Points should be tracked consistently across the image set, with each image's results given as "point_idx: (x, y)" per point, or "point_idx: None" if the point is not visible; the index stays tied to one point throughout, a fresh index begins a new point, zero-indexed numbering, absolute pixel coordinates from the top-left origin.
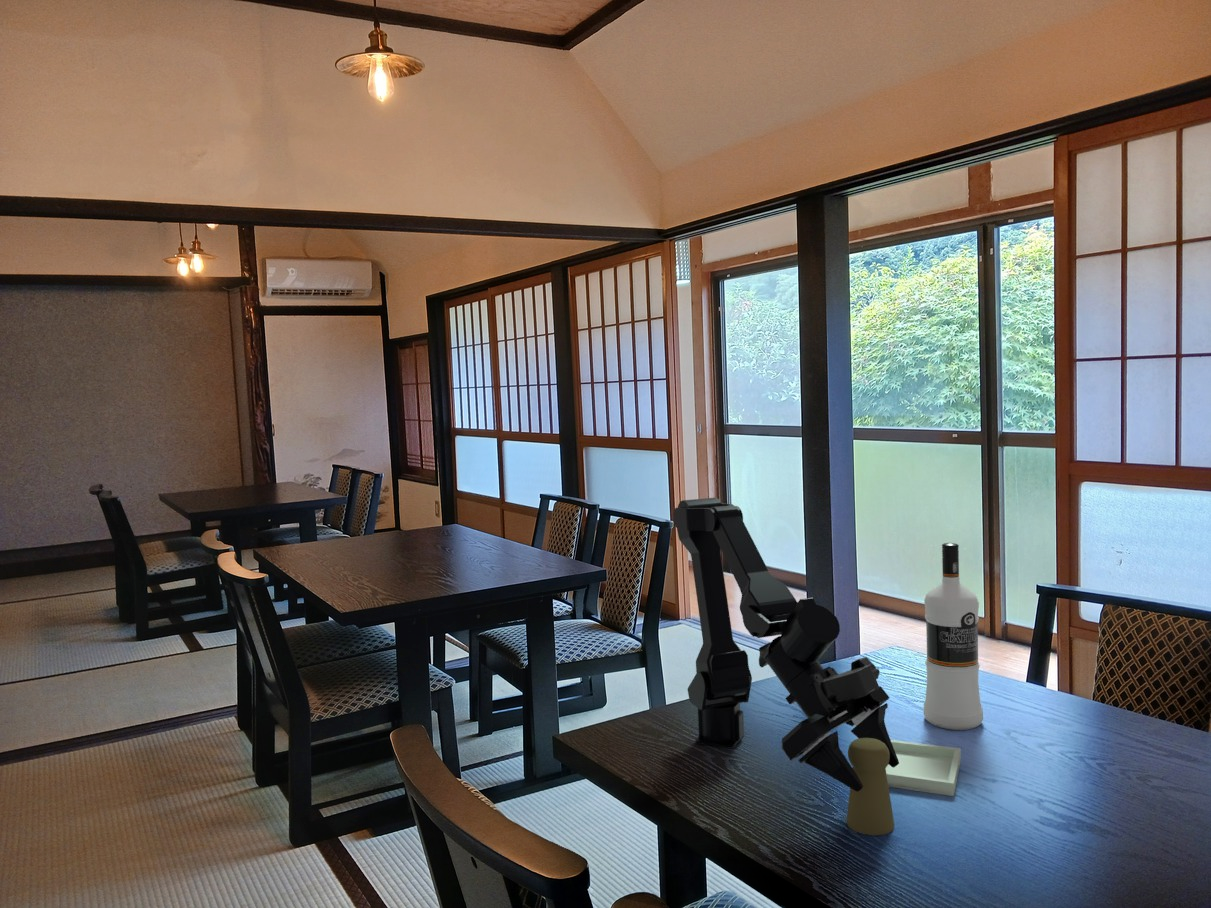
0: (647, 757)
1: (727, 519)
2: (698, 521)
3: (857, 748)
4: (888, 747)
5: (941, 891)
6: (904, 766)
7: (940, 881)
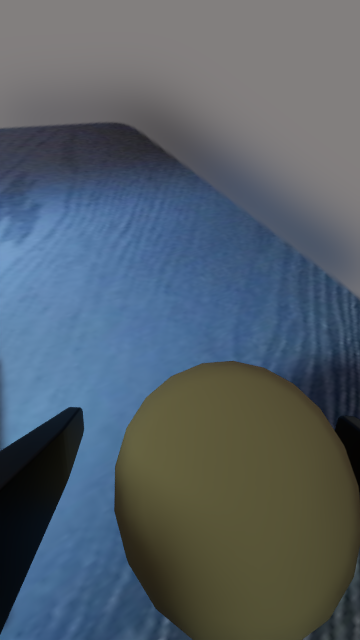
0: None
1: None
2: None
3: (355, 509)
4: (45, 450)
5: (303, 271)
6: None
7: (282, 280)
